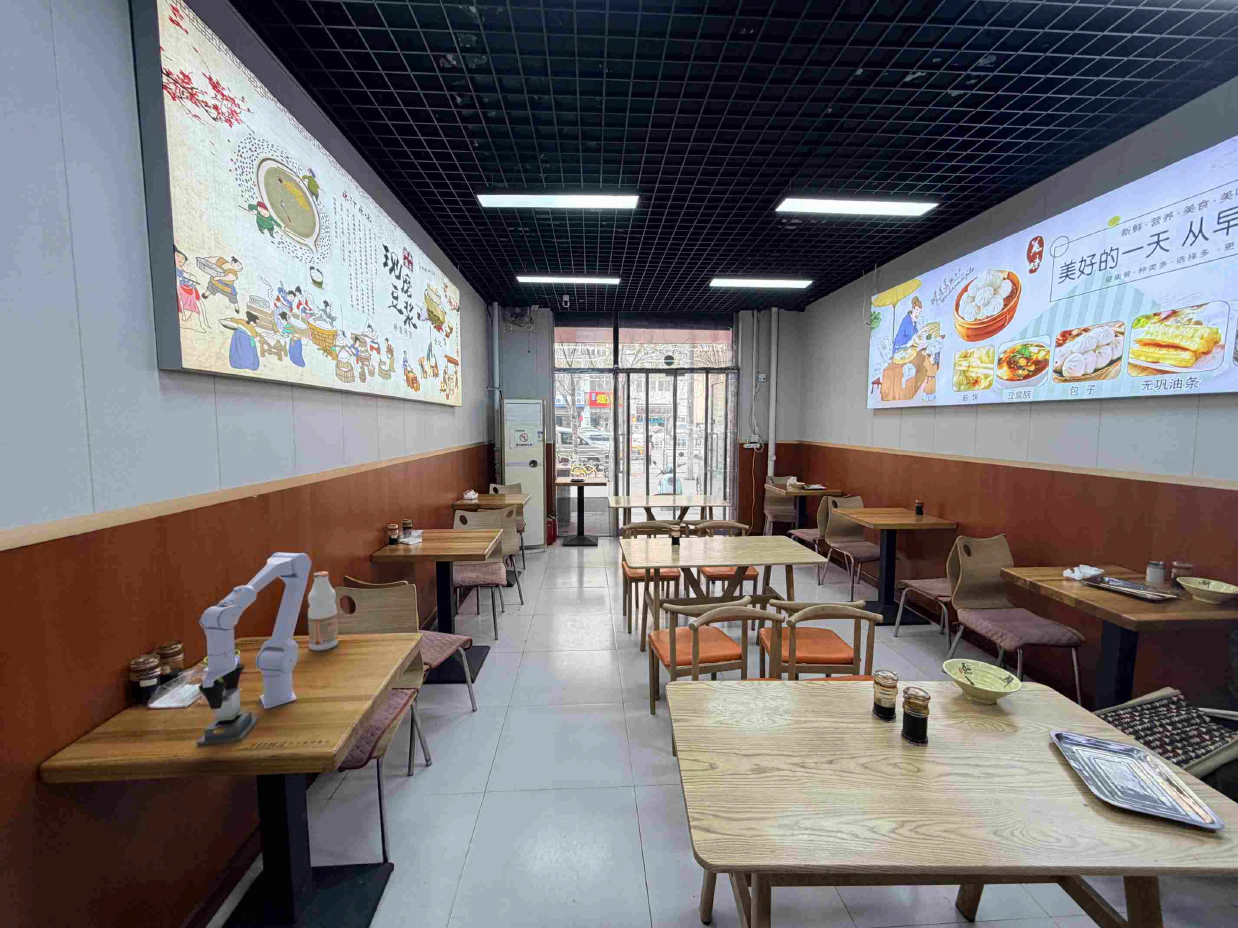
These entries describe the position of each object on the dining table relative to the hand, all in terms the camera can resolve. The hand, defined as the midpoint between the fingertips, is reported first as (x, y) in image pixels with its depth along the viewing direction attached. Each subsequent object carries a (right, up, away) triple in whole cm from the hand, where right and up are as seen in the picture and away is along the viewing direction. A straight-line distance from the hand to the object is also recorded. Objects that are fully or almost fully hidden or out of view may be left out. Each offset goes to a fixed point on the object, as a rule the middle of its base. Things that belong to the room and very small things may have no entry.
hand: (223, 700), depth 137 cm
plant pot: (-23, -8, +29) cm, 38 cm away
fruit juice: (-6, -6, +57) cm, 57 cm away
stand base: (+1, -9, +1) cm, 9 cm away
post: (+1, -4, 0) cm, 4 cm away
